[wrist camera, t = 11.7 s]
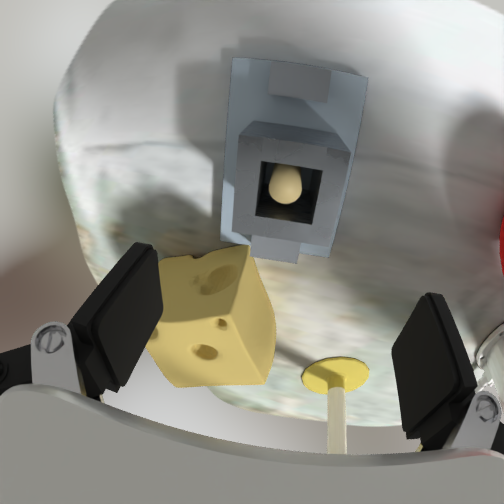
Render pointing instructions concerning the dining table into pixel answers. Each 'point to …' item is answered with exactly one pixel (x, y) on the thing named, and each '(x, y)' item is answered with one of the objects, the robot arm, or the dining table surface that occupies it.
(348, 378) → the yellow disc stand
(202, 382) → the cheese
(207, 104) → the dining table surface
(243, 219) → the brushed steel block
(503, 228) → the tomato
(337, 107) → the stand
